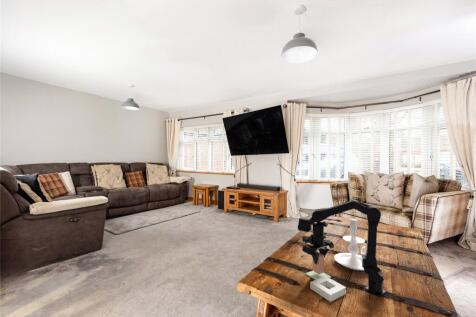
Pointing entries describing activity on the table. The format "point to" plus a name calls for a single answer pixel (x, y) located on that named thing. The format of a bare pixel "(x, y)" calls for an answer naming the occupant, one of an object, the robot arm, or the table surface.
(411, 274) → the table surface
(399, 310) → the table surface
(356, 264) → the candlestick
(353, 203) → the robot arm
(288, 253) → the table surface
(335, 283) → the white square frame
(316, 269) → the plug
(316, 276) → the pad
